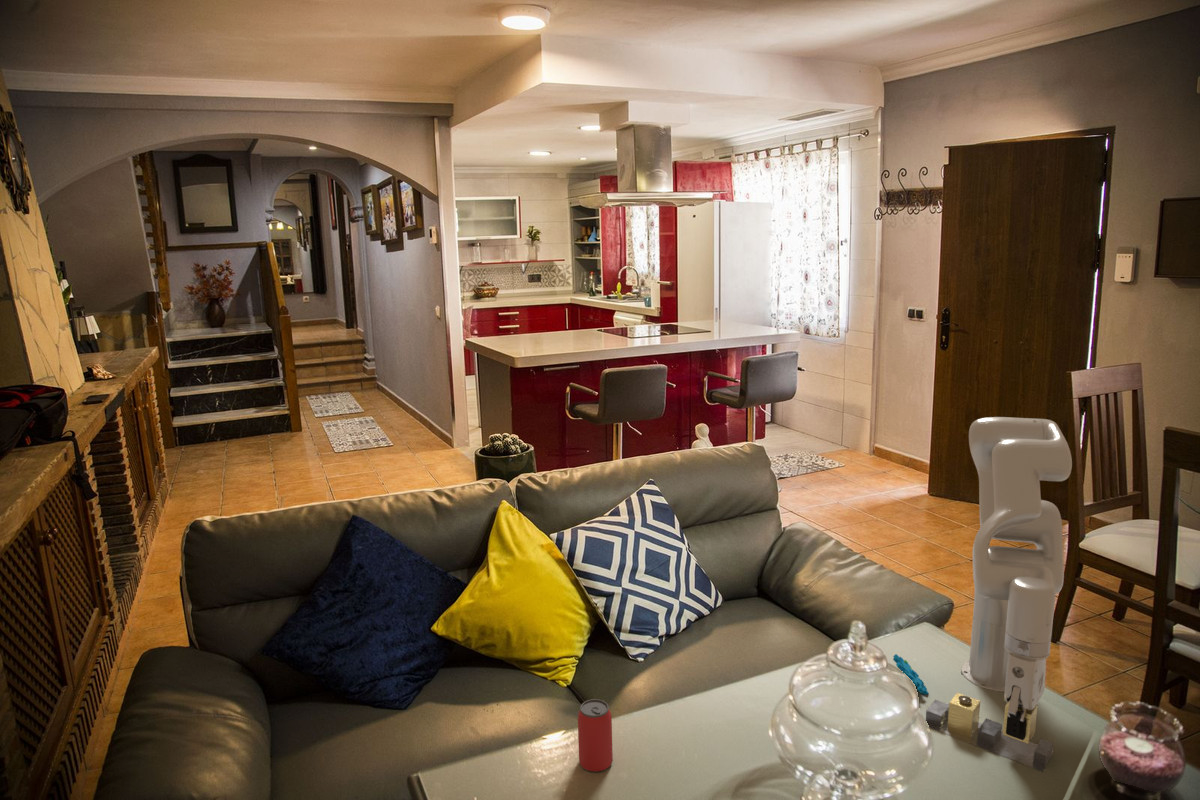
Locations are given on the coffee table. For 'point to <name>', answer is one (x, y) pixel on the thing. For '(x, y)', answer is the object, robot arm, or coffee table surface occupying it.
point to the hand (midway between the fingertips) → (1019, 729)
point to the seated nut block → (963, 715)
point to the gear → (910, 673)
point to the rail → (993, 739)
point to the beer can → (595, 735)
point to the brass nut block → (1030, 723)
